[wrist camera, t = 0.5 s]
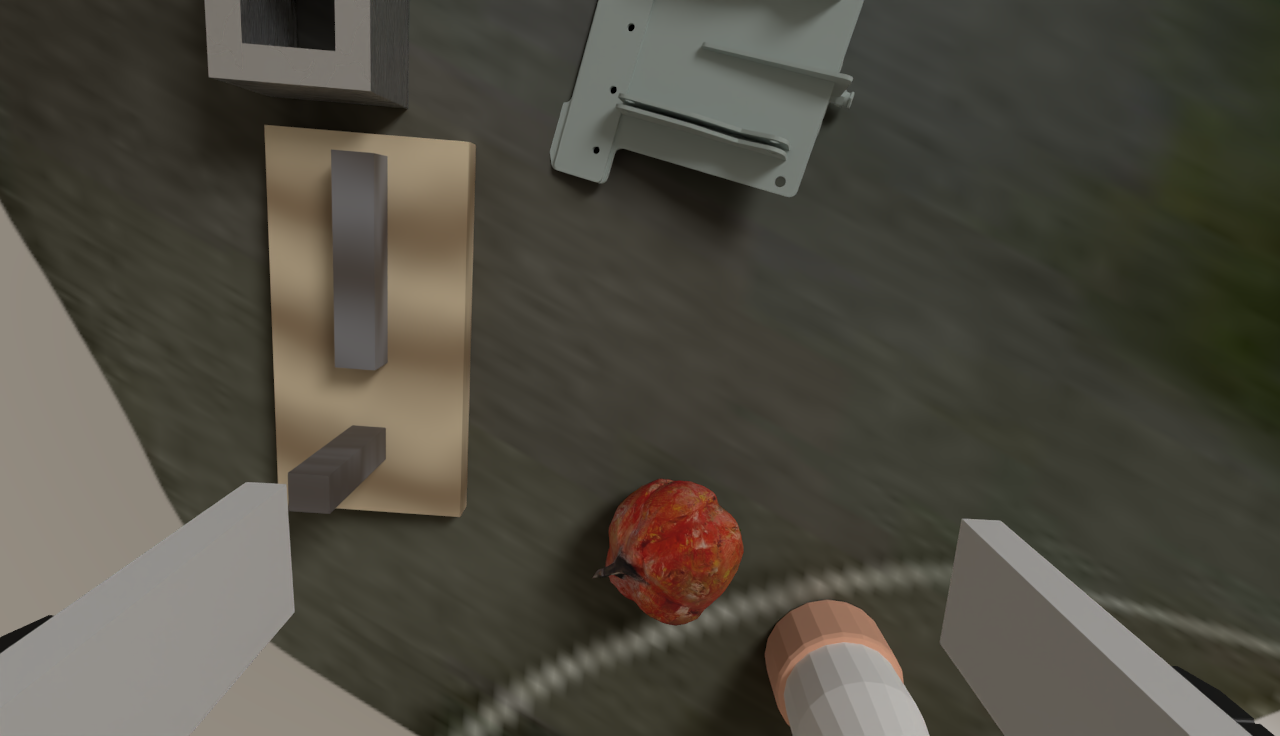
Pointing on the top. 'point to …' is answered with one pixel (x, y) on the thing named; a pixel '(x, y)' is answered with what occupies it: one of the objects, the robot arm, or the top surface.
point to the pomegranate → (672, 550)
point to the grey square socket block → (311, 51)
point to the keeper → (371, 318)
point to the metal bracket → (708, 87)
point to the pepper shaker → (838, 675)
